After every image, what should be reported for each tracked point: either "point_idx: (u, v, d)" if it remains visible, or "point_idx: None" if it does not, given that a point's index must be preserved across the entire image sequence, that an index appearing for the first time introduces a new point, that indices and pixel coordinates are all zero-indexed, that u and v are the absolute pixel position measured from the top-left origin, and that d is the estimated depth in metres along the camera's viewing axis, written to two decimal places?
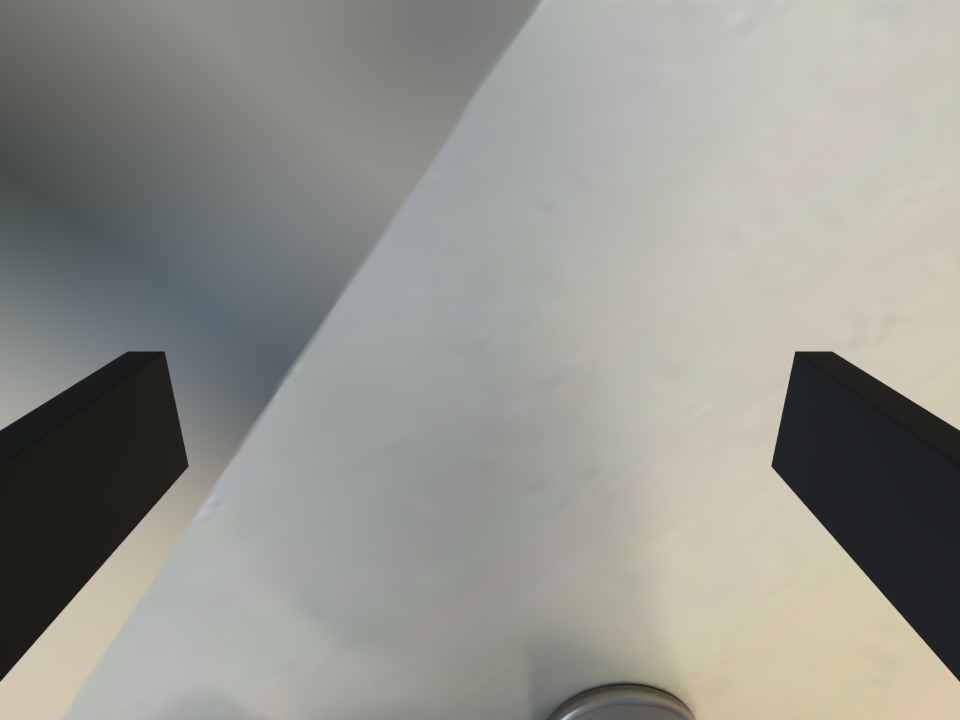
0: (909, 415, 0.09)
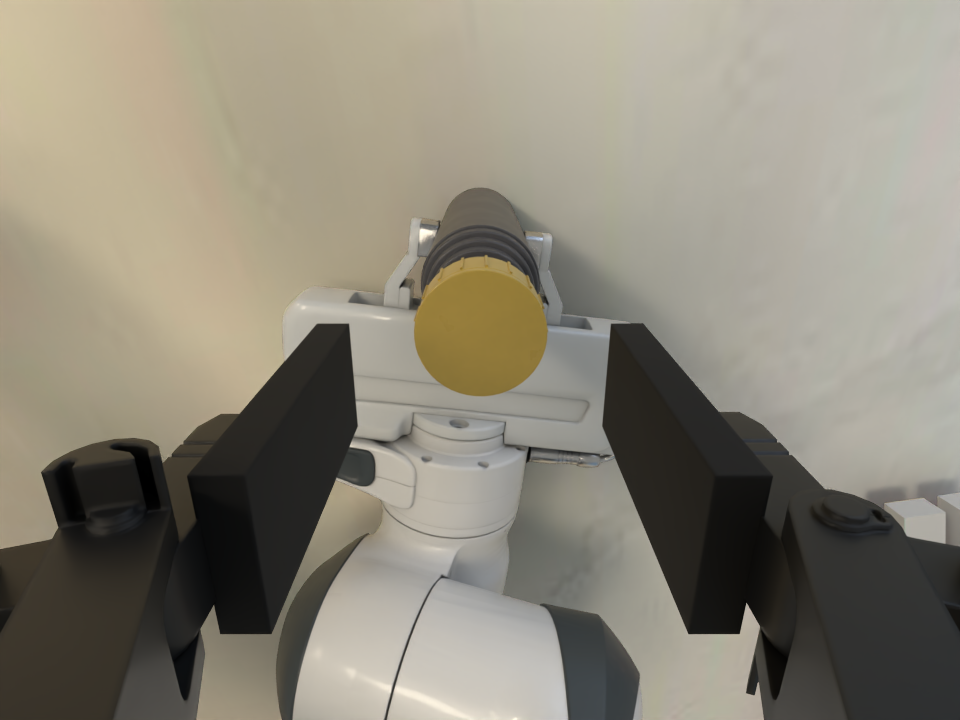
0: (661, 370, 0.11)
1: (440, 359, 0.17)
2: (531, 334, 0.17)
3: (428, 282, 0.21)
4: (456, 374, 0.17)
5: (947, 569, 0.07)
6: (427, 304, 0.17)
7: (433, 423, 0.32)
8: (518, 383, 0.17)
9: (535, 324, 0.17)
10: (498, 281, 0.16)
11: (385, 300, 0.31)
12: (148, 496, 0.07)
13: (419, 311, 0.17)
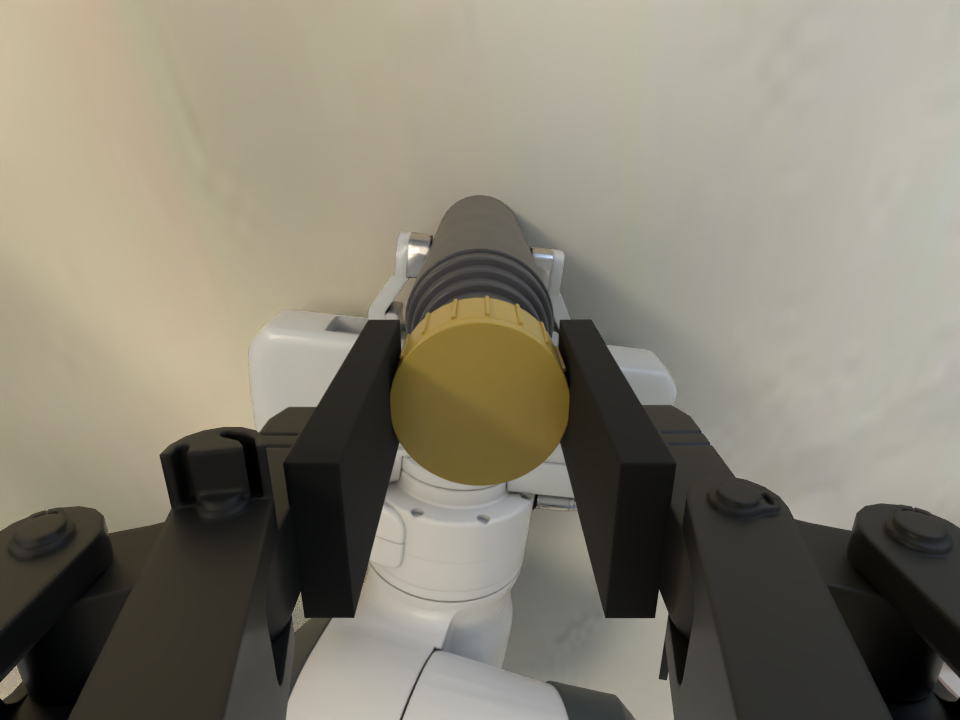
0: (596, 364, 0.11)
1: (425, 439, 0.13)
2: (548, 406, 0.12)
3: (413, 322, 0.17)
4: (447, 458, 0.13)
5: (834, 552, 0.07)
6: (406, 367, 0.12)
7: (425, 470, 0.28)
8: (530, 469, 0.13)
9: (554, 393, 0.12)
10: (504, 337, 0.12)
11: None
12: (252, 484, 0.08)
13: (396, 376, 0.12)
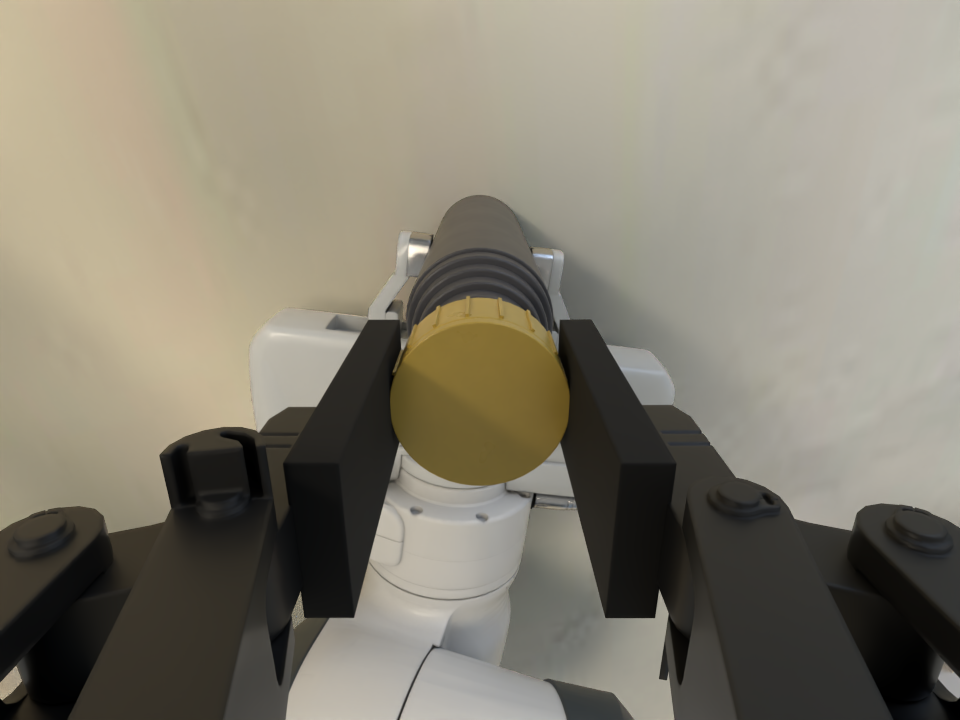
0: (596, 364, 0.11)
1: (535, 437, 0.13)
2: (443, 353, 0.12)
3: (414, 320, 0.17)
4: (545, 411, 0.12)
5: (834, 552, 0.07)
6: (474, 480, 0.13)
7: None
8: (518, 332, 0.12)
9: (428, 355, 0.12)
10: (403, 422, 0.13)
11: None
12: (252, 484, 0.08)
13: (488, 484, 0.13)
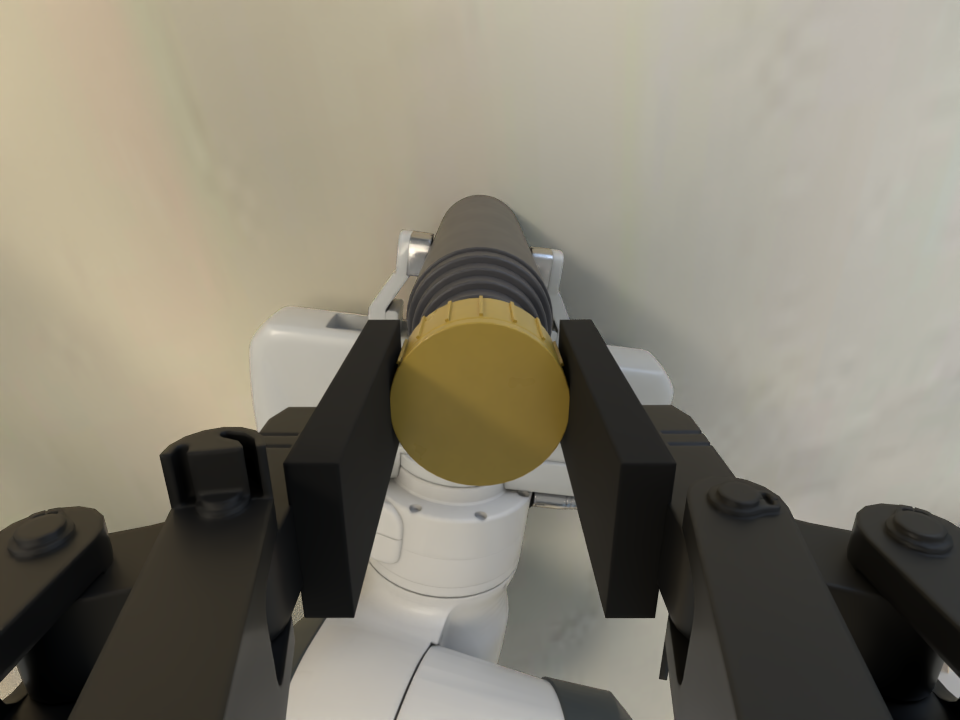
0: (596, 364, 0.11)
1: (481, 347, 0.12)
2: (445, 460, 0.13)
3: (414, 319, 0.17)
4: (449, 353, 0.12)
5: (834, 552, 0.07)
6: (557, 376, 0.12)
7: None
8: (392, 414, 0.13)
9: (454, 470, 0.13)
10: (528, 461, 0.13)
11: None
12: (252, 484, 0.08)
13: (555, 362, 0.12)
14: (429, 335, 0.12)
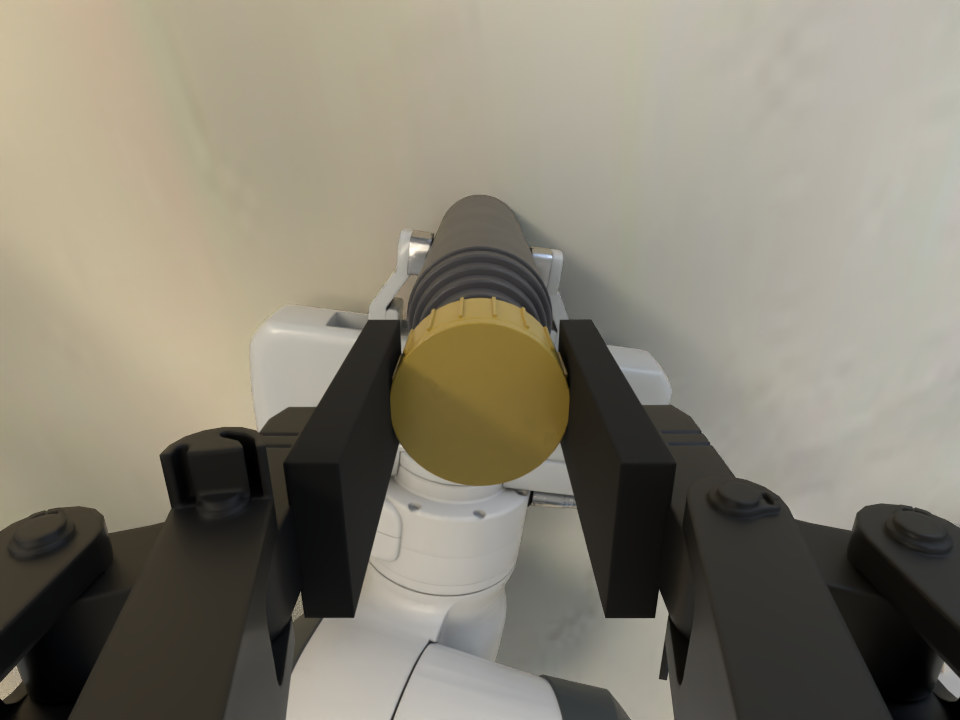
0: (596, 364, 0.11)
1: (422, 435, 0.13)
2: (548, 411, 0.12)
3: (415, 317, 0.17)
4: (442, 455, 0.13)
5: (834, 551, 0.07)
6: (410, 362, 0.12)
7: None
8: (525, 473, 0.13)
9: (555, 399, 0.12)
10: (510, 339, 0.12)
11: None
12: (252, 484, 0.08)
13: (398, 371, 0.12)
14: (437, 475, 0.13)
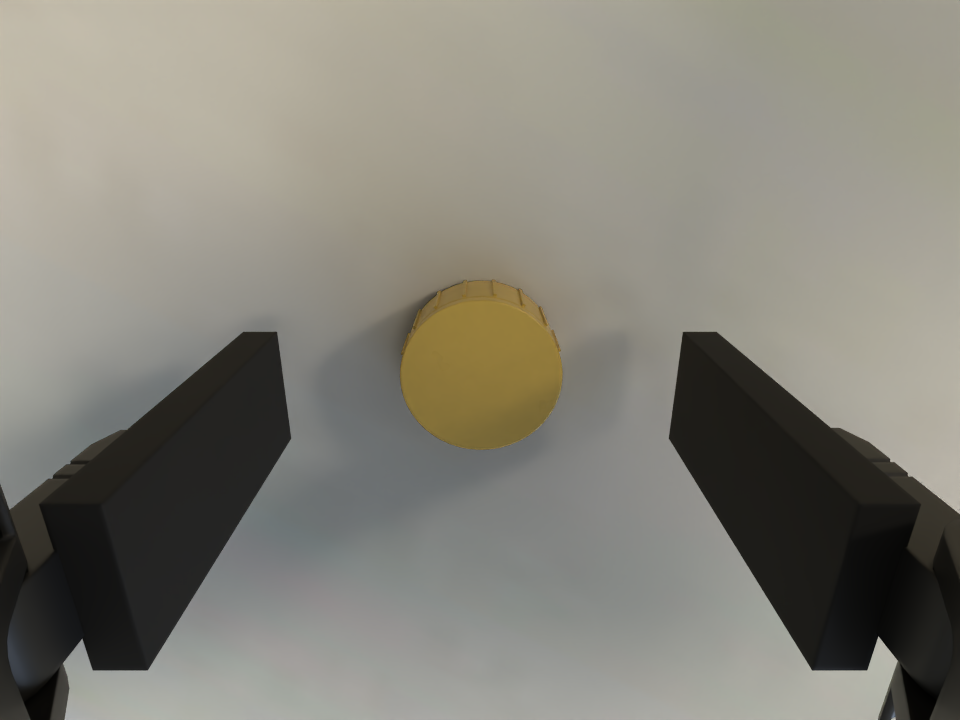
0: (754, 383, 0.10)
1: (430, 403, 0.14)
2: (542, 381, 0.14)
3: None
4: (448, 422, 0.14)
5: None
6: (419, 336, 0.14)
7: None
8: (521, 437, 0.15)
9: (548, 370, 0.14)
10: (508, 315, 0.13)
11: None
12: None
13: (408, 344, 0.14)
14: (443, 440, 0.15)
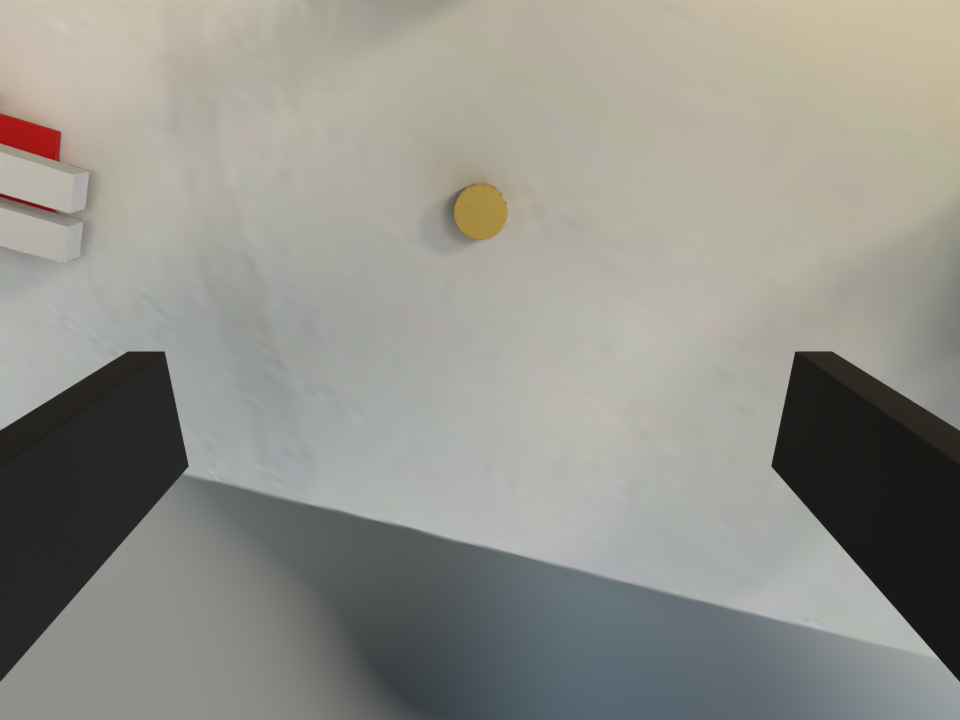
0: (909, 415, 0.09)
1: (463, 222, 0.43)
2: (500, 214, 0.43)
3: None
4: (469, 229, 0.43)
5: None
6: (460, 198, 0.42)
7: None
8: (494, 235, 0.43)
9: (502, 210, 0.43)
10: (489, 191, 0.42)
11: None
12: None
13: (457, 200, 0.42)
14: None
